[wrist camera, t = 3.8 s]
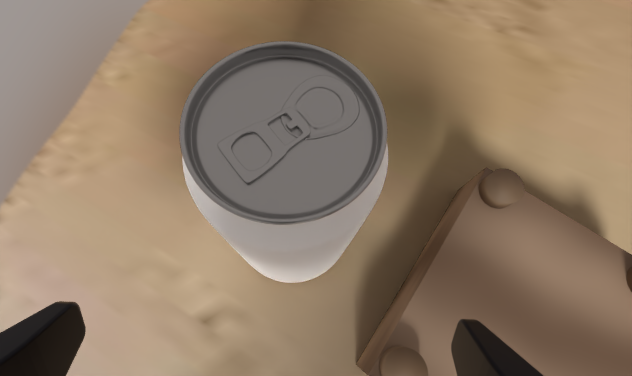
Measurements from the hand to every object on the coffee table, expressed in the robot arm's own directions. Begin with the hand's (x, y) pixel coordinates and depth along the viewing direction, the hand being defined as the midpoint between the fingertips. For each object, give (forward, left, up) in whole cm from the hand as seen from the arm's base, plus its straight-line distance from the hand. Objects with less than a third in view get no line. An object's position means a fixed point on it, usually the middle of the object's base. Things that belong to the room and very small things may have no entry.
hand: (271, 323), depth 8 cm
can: (+4, +3, -11) cm, 13 cm away
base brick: (+6, -9, -11) cm, 16 cm away
